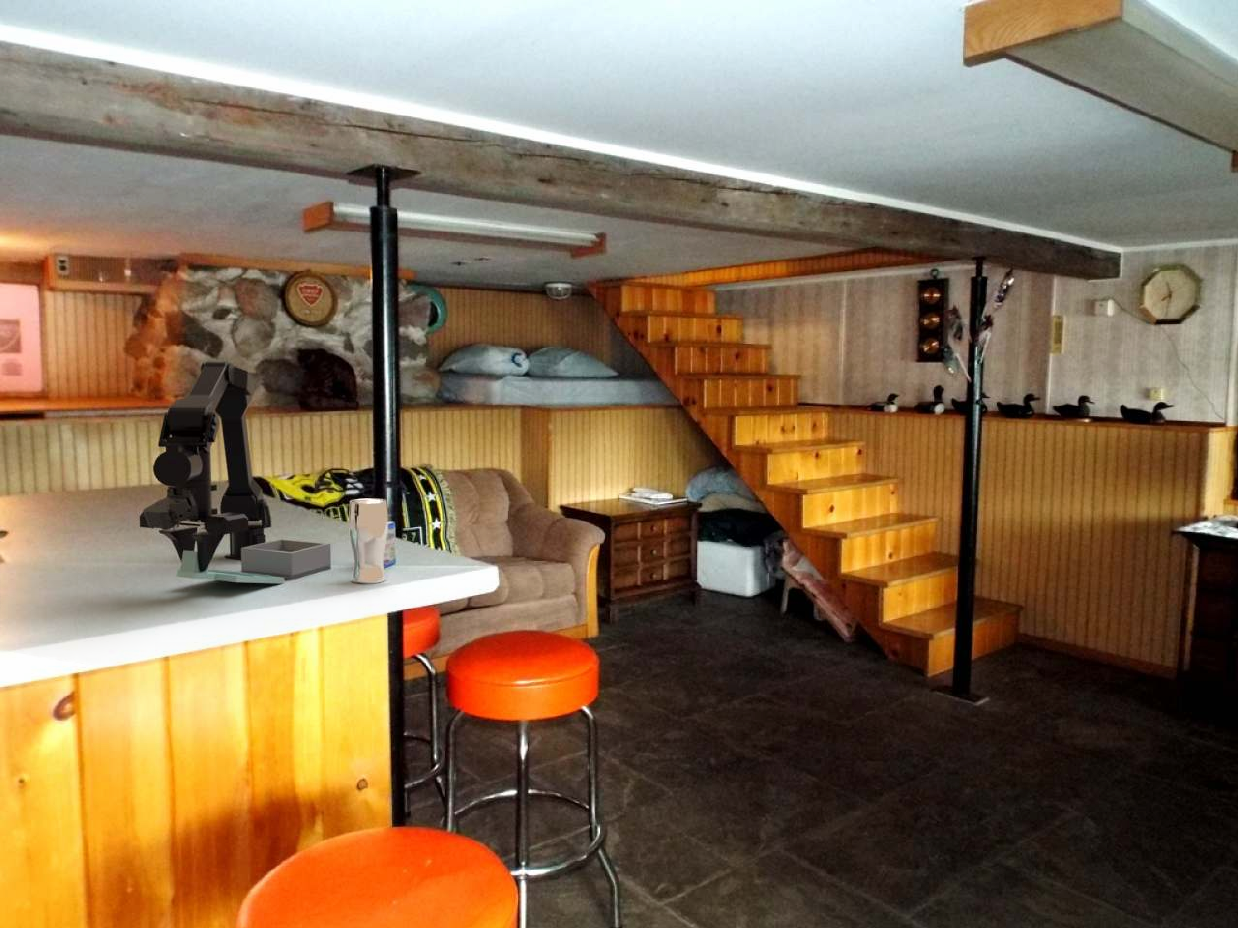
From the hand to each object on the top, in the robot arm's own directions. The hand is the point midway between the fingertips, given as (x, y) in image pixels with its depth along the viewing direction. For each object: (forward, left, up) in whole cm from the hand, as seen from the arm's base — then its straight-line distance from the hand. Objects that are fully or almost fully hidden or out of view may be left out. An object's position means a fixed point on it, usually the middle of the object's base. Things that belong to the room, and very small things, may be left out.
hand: (195, 570), depth 157 cm
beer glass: (+19, +23, -5) cm, 30 cm away
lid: (0, +6, -3) cm, 7 cm away
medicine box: (+13, +34, -5) cm, 36 cm away
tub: (0, +23, -4) cm, 23 cm away
